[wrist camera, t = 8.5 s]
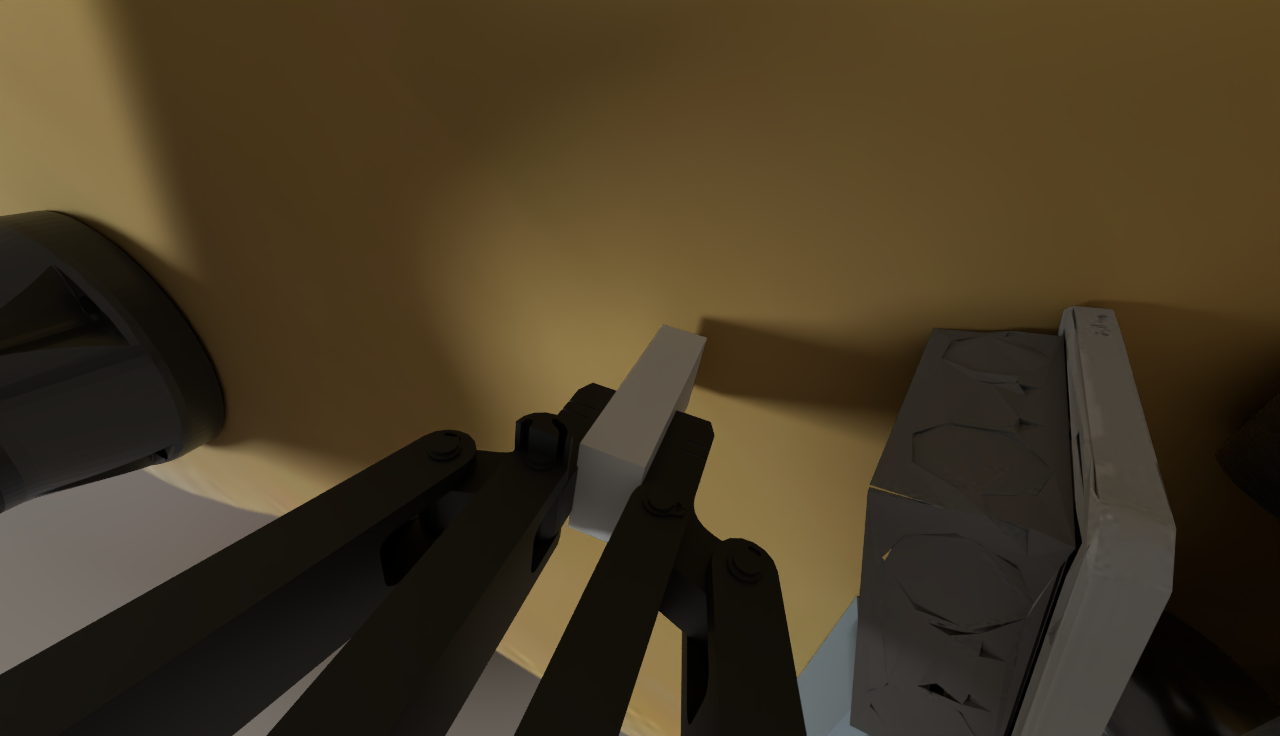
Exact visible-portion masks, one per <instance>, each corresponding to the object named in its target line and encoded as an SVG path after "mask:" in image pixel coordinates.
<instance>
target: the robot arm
mask: <svg viewBox="0 0 1280 736" xmlns="http://www.w3.org/2000/svg"><path fill="white" fill-rule="evenodd" d="M706 340H707V338H706V337H703V336H700V335H697V334H693V333H690V332H687V331H684V330H680V329H677V328H674V327H671V326H668V325H664V324H663V325H662V327H661V328H660V330H659V331H658V332H657V334H656V335H655V337H654V338H653V340H652V341H651V342H650V344H649V345H648V347H647V348H646V350H645V351H644V352H643V354H642V355H641V357H640V358H639V360H638V361H637V362H636V364H635V365H634V367H633V368H632V370H631V371H630V372H629V374H628V375H627V377H626V378H625V380H624V381H623V383H622V384H621V385H620V387H619V388H618V390H617V391H615V390H613V389H610V388H607V387H604V386H601V385H598V384H595V383H591V384H589V385H587V386H585V387H583V388H581V389H579V390H578V391H577V392H576V393H575V394H574V396H573V397H572V398H571V399H570V402H568V403H567V404H566V405H565V406H564V408H563V410H561V411H560V412H559V414H558V415H555V414H550V413H532V414H529V415H526V416H523V417H522V418H520V419H519V420H518V421H516V432H515V450H514V451H513V452H508V453H505V452H491V451H481V450H476V445H475V441H474V440H473V439H472V438H471V437H470V436H469V435H468V434H465V433H463V432H461V431H455V430H442V431H435V432H433V433H430V434H428V435H425V436H423V437H421V438H420V439H418V440H416V441H414V442H413V443H411V444H409V445H407V446H405V447H404V448H402V449H400V450H398V451H397V452H395V453H393V454H391V455H390V456H388V457H386V458H384V459H382V460H381V461H379V462H377V463H375V464H374V465H372V466H370V467H368V468H366V469H365V470H363V471H361V472H359V473H358V474H356V475H354V476H352V477H350V478H349V479H347V480H345V481H343V482H342V483H340V484H338V485H336V486H334V487H333V488H331V489H329V490H327V491H326V492H324V493H322V494H320V495H319V496H317V497H315V498H313V499H311V500H310V501H308V502H306V503H304V504H303V505H301V506H299V507H297V508H295V509H294V510H292V511H290V512H288V513H287V514H285V515H283V516H281V517H279V518H278V519H276V520H274V521H272V522H271V523H269V524H267V525H265V526H264V527H262V528H260V529H258V530H256V531H255V532H253V533H251V534H249V535H248V536H246V537H244V538H242V539H240V540H239V541H237V542H235V543H233V544H232V545H230V546H228V547H226V548H224V549H223V550H221V551H219V552H217V553H216V554H214V555H212V556H210V557H208V558H207V559H205V560H203V561H201V562H200V563H198V564H196V565H194V566H192V567H191V568H189V569H187V570H185V571H184V572H182V573H180V574H178V575H176V576H175V577H173V578H171V579H169V580H168V581H166V582H164V583H163V584H161V585H159V586H157V587H155V588H153V589H152V590H150V591H148V592H146V593H145V594H143V595H141V596H139V597H137V598H136V599H134V600H132V601H131V602H129V603H127V604H125V605H123V606H121V607H120V608H118V609H116V610H114V611H113V612H111V613H109V614H107V615H106V616H104V617H102V618H100V619H98V620H97V621H95V622H93V623H91V624H90V625H88V626H86V627H84V628H82V629H81V630H79V631H77V632H75V633H74V634H72V635H70V636H68V637H66V638H65V639H63V640H61V641H59V642H58V643H56V644H54V645H52V646H51V647H49V648H47V649H45V650H43V651H42V652H40V653H38V654H36V655H35V656H33V657H31V658H29V659H27V660H26V661H24V662H22V663H20V664H18V665H17V666H15V667H13V668H12V669H10V670H8V671H6V672H4V673H2V674H1V675H0V736H232V735H234V734H235V733H236V732H237V731H239V730H240V729H241V728H242V727H243V726H245V725H246V724H247V723H248V722H250V721H251V720H252V719H253V718H254V717H256V716H257V715H258V714H259V713H261V712H262V711H263V710H264V709H265V708H267V707H268V706H269V705H270V704H271V703H273V702H274V701H275V700H276V699H278V698H279V697H280V696H281V695H282V694H284V693H285V692H286V691H287V690H288V689H290V688H291V687H292V686H293V685H295V684H296V683H297V682H298V681H299V680H301V679H302V678H303V677H304V676H305V675H307V674H308V673H309V672H310V671H312V670H313V669H314V668H315V667H316V666H318V665H319V664H320V663H321V662H323V661H324V660H325V659H326V658H327V657H329V656H330V655H331V654H332V653H333V652H334V651H336V650H337V649H338V648H340V647H341V646H342V645H343V644H344V643H346V642H347V641H348V640H349V639H350V638H351V639H350V640H349V641H348V642H347V644H346V645H345V646H344V647H343V648H342V649H341V651H340V652H339V653H338V654H337V655H336V656H335V657H334V658H333V660H332V661H331V662H330V663H329V664H328V665H327V667H326V668H325V669H324V670H323V671H322V672H321V673H320V675H319V676H318V677H317V678H316V680H314V682H313V683H312V684H311V685H310V686H309V687H308V688H307V690H306V691H305V692H304V693H303V694H302V695H301V696H300V698H299V699H298V700H297V701H296V702H295V703H294V705H293V706H292V707H291V708H290V709H289V711H288V712H287V713H286V714H285V715H284V716H283V717H282V719H281V720H280V721H279V722H278V723H277V724H276V725H275V726H274V728H273V729H272V730H271V731H270V732H269V733H268V735H267V736H445V735H446V733H447V732H448V730H449V728H450V727H451V725H452V723H453V722H454V720H455V718H456V717H457V715H458V713H459V711H460V710H461V708H462V706H463V705H464V703H465V701H466V699H467V698H468V696H469V694H470V693H471V691H472V689H473V688H474V686H475V684H476V682H477V681H478V679H479V677H480V676H481V674H482V672H483V670H484V669H485V667H486V665H487V663H488V662H489V660H490V659H491V657H492V655H493V653H494V652H495V650H496V648H497V647H498V645H499V643H500V642H501V640H502V638H503V637H504V635H505V633H506V631H507V630H508V628H509V626H510V625H511V623H512V621H513V619H514V618H515V616H516V614H517V613H518V611H519V609H520V608H521V606H522V604H523V602H524V601H525V599H526V597H527V596H528V594H529V592H530V591H531V589H532V587H533V585H534V584H535V582H536V580H537V579H538V577H539V575H540V574H541V572H542V570H543V568H544V567H545V565H546V563H547V562H548V560H549V558H550V556H551V555H552V553H553V551H554V550H555V548H556V546H557V545H558V541H559V538H560V534H561V527H562V526H563V524H564V522H565V521H566V519H567V517H568V516H569V514H570V516H569V523H568V527H571V528H573V529H576V530H578V531H580V532H583V533H585V534H588V535H590V536H593V537H595V538H598V539H600V540H603V541H605V542H607V545H606V547H605V549H604V551H603V553H602V555H601V557H600V559H599V562H598V564H597V566H596V568H595V570H594V572H593V574H592V576H591V578H590V580H589V582H588V584H587V586H586V588H585V590H584V592H583V594H582V597H581V599H580V601H579V603H578V605H577V607H576V609H575V611H574V613H573V615H572V617H571V619H570V621H569V623H568V625H567V627H566V629H565V632H564V634H563V636H562V638H561V640H560V642H559V644H558V646H557V648H556V650H555V652H554V654H553V656H552V658H551V660H550V662H549V664H548V667H547V669H546V671H545V673H544V675H543V677H542V679H541V681H540V683H539V685H538V687H537V689H536V691H535V693H534V696H533V697H532V699H531V702H530V704H529V706H528V708H527V710H526V712H525V714H524V716H523V718H522V720H521V722H520V724H519V727H518V728H517V730H516V733H515V735H514V736H619V733H620V730H621V726H622V723H623V720H624V717H625V714H626V711H627V708H628V705H629V702H630V698H631V695H632V692H633V689H634V686H635V683H636V680H637V677H638V674H639V671H640V667H641V664H642V661H643V658H644V655H645V652H646V649H647V646H648V643H649V639H650V636H651V633H652V630H653V627H654V624H655V621H656V618H657V615H658V611H660V612H661V613H662V614H663V615H664V616H665V617H667V618H668V619H669V620H670V621H671V622H672V623H674V624H675V625H676V626H677V627H678V628H679V629H681V630H682V683H681V736H807V733H806V727H805V722H804V716H803V710H802V705H801V699H800V694H799V688H798V682H797V677H796V671H795V665H794V660H793V654H792V649H791V643H790V637H789V632H788V626H787V620H786V615H785V609H784V604H783V598H782V592H781V587H780V581H779V575H778V571H777V569H776V566H775V563H774V561H773V560H772V558H771V557H770V556H769V555H768V553H767V552H766V551H765V550H764V549H762V548H761V547H759V546H758V545H757V544H755V543H753V542H751V541H748V540H745V539H742V538H729V539H727V540H724V541H721V540H720V539H718V538H717V537H716V536H714V535H713V534H711V533H710V532H709V531H708V530H707V529H706V528H705V527H704V526H703V525H702V524H701V523H700V521H699V520H698V518H697V516H696V514H695V510H694V498H695V495H696V492H697V489H698V486H699V483H700V479H701V476H702V473H703V470H704V467H705V464H706V461H707V457H708V454H709V451H710V448H711V445H712V442H713V439H714V432H713V428H712V425H711V422H709V421H706V420H703V419H701V418H698V417H695V416H692V415H689V414H686V413H685V410H686V408H687V406H688V403H689V399H690V396H691V392H692V389H693V385H694V382H695V378H696V375H697V371H698V368H699V364H700V361H701V358H702V354H703V351H704V347H705V344H706ZM223 421H224V405H223V399H222V394H221V390H220V387H219V384H218V381H217V378H216V376H215V373H214V371H213V368H212V366H211V364H210V362H209V360H208V358H207V356H206V354H205V352H204V350H203V348H202V346H201V345H200V343H199V341H198V340H197V338H196V336H195V335H194V333H193V332H192V330H191V329H190V327H189V326H188V324H187V323H186V321H185V320H184V318H183V317H182V316H181V314H180V313H179V312H178V310H177V309H176V308H175V306H174V305H173V304H172V302H171V301H170V300H169V299H168V298H167V296H166V295H165V294H164V293H163V292H162V290H161V289H160V288H159V287H158V286H157V285H156V284H155V283H154V282H153V280H152V279H151V278H150V277H149V276H148V275H147V274H146V273H145V272H144V271H143V270H142V269H141V268H140V267H139V266H138V265H137V264H136V263H135V262H134V261H132V260H131V259H130V258H129V257H128V256H127V255H126V254H125V253H123V252H122V251H121V250H120V249H119V248H117V247H116V246H115V245H114V244H112V243H111V242H110V241H108V240H107V239H106V238H104V237H103V236H102V235H100V234H99V233H97V232H96V231H94V230H92V229H91V228H89V227H88V226H86V225H84V224H82V223H80V222H78V221H76V220H74V219H72V218H70V217H67V216H65V215H62V214H59V213H55V212H51V211H34V212H27V213H20V214H13V215H6V216H0V513H2V512H4V511H6V510H8V509H11V508H13V507H15V506H17V505H19V504H21V503H23V502H26V501H29V500H31V499H34V498H37V497H41V496H44V495H48V494H52V493H55V492H59V491H62V490H66V489H70V488H74V487H77V486H81V485H85V484H88V483H92V482H95V481H99V480H103V479H107V478H110V477H114V476H118V475H121V474H125V473H128V472H131V471H135V470H138V469H142V468H145V467H148V466H151V465H158V464H162V463H165V462H169V461H172V460H174V459H177V458H179V457H181V456H183V455H185V454H187V453H188V452H190V451H192V450H194V449H196V448H198V447H199V446H201V445H203V444H205V443H207V442H209V441H210V440H212V439H214V438H215V437H216V436H217V435H218V434H219V432H220V430H221V428H222V425H223Z"/></svg>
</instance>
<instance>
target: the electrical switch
mask: <svg viewBox="0 0 1280 736" xmlns="http://www.w3.org/2000/svg"><path fill="white" fill-rule="evenodd" d="M917 434H920V435H917ZM870 485H873V486H876V487H879V488H883V489H886V490H889V491H892V492H895V493H899V494H902V495H905V496H908V497H911V498H913V499H910V498H907V497H903V496H900V495H896V494H892V493H889V492H885V491H882V490H878V489H874V488H871V487H869V490H868V496H867V508H866V521H865V534H864V547H863V560H862V573H861V586H860V598H859V611H858V624H857V637H856V650H855V663H854V676H853V688H852V701H851V714H850V726H852V727H854V728H856V729H858V730H860V731H862V732H864V733H866V734H868V735H870V736H1101V735H1102V733H1103V731H1104V729H1105V727H1106V725H1107V723H1108V721H1109V719H1110V717H1111V715H1112V713H1113V711H1114V709H1115V707H1116V705H1117V703H1118V701H1119V699H1120V697H1121V695H1122V693H1123V691H1124V689H1125V687H1126V685H1127V683H1128V681H1129V679H1130V677H1131V675H1132V672H1133V670H1134V668H1135V666H1136V664H1137V662H1138V660H1139V658H1140V656H1141V654H1142V652H1143V650H1144V648H1145V646H1146V644H1147V642H1148V640H1149V638H1150V636H1151V634H1152V632H1153V630H1154V628H1155V626H1156V624H1157V622H1158V620H1159V618H1160V616H1161V614H1162V612H1163V610H1164V608H1165V606H1166V604H1167V602H1168V600H1169V598H1170V596H1171V593H1172V586H1173V571H1174V556H1175V540H1176V527H1175V523H1174V519H1173V516H1172V512H1171V509H1170V505H1169V502H1168V498H1167V494H1166V491H1165V487H1164V484H1163V480H1162V477H1161V473H1160V469H1159V466H1158V462H1157V459H1156V455H1155V452H1154V448H1153V444H1152V441H1151V437H1150V434H1149V430H1148V426H1147V423H1146V419H1145V416H1144V412H1143V409H1142V405H1141V401H1140V398H1139V394H1138V391H1137V387H1136V384H1135V380H1134V376H1133V373H1132V369H1131V366H1130V362H1129V359H1128V355H1127V351H1126V348H1125V344H1124V341H1123V337H1122V334H1121V331H1120V328H1119V325H1118V322H1117V319H1116V316H1115V313H1114V310H1113V309H1103V308H1092V307H1082V306H1071V307H1069V308H1067V309H1065V310H1064V311H1063V315H1062V319H1061V323H1060V327H1059V331H1058V335H1057V336H1056V335H1046V334H1036V333H1027V332H1017V331H998V332H985V333H983V332H972V331H960V330H949V329H938V328H933V331H932V333H931V336H930V338H929V341H928V343H927V345H926V348H925V350H924V353H923V355H922V358H921V360H920V363H919V365H918V367H917V370H916V372H915V375H914V377H913V380H912V382H911V385H910V387H909V390H908V392H907V394H906V397H905V399H904V402H903V404H902V407H901V409H900V412H899V414H898V417H897V419H896V421H895V424H894V426H893V429H892V431H891V434H890V436H889V439H888V441H887V443H886V446H885V448H884V451H883V453H882V456H881V458H880V461H879V463H878V466H877V468H876V470H875V473H874V475H873V478H872V480H871V483H870ZM891 548H892V549H891ZM890 549H891V551H890V553H889V555H888V556H887V558H886V560H885V561H884V559H883V558H882V557H883V556H884V555H885V554H886V553H887V552H888V551H889V550H890Z"/></svg>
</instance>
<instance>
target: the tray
mask: <svg viewBox="0 0 1280 736" xmlns="http://www.w3.org/2000/svg"><path fill="white" fill-rule="evenodd" d="M859 598H860V597H856V598H855V599H854V601H853V602H852V603H851V605H850V606H849V608H848V609H847V610H846V612H845V613H844V615H843V616H842V617H841V619H840V620H839V622H838V623H837V624H836V626H835V627H834V629H833V630H832V631H831V633H830V634H829V636H828V637H827V638H826V640H825V641H824V642H823V644H822V645H821V647H820V648H819V649H818V651H817V652H816V654H815V655H814V656H813V658H812V659H811V661H810V662H809V663H808V665H807V666H806V668H805V669H804V670H803V672H802V673H801V675H800V676H799V677H798V679H797V682H798V688H799V694H800V699H801V705H802V710H803V716H804V722H805V727H806V733H807V736H870V735H868V734H866V733H864V732H862V731H860V730H858V729H856V728H854V727H852V726H850V714H851V701H852V688H853V676H854V663H855V650H856V637H857V624H858V611H859Z"/></svg>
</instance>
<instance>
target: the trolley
mask: <svg viewBox="0 0 1280 736" xmlns="http://www.w3.org/2000/svg"><path fill="white" fill-rule="evenodd" d="M1215 455H1216V460H1217V462H1218V464H1219V465H1220V467H1221V468H1222V470H1223V471H1224V472H1225V474H1226V475H1227V476H1228V477H1229V478H1230V479H1231V480H1232V481H1233V482H1234V483H1235V484H1236V485H1237V486H1238V487H1239V488H1240V489H1241V490H1243V491H1244V492H1245V493H1246V494H1247V495H1248V496H1249V497H1251V498H1252V499H1253V500H1254V501H1256V502H1257V503H1258V504H1259V505H1261V506H1262V507H1263V508H1264V509H1266V510H1267V511H1269V512H1270V513H1271V514H1273V515H1274V516H1276V517H1277V518H1278V519H1280V393H1278V394H1277V395H1276V396H1275V397H1274V398H1273V399H1272V400H1271V401H1270V402H1269V403H1267V404H1266V405H1265V406H1264V407H1263V408H1262V409H1261V410H1260V411H1259V412H1258V413H1256V414H1255V415H1254V416H1253V417H1252V418H1251V419H1250V420H1249V421H1248V422H1247V423H1245V424H1244V425H1243V426H1242V427H1241V428H1240V429H1239V430H1238V431H1237V432H1236V433H1235V434H1233V435H1232V436H1231V437H1230V438H1229V439H1228V440H1227V441H1226V442H1225V443H1224V444H1222V445H1221V446H1220V447H1219V448H1218V449H1217V450H1216V454H1215ZM1101 736H1280V708H1279V707H1278V706H1277V704H1276V703H1275V702H1274V701H1273V699H1272V698H1271V697H1270V696H1269V695H1268V694H1267V693H1266V691H1265V690H1264V689H1263V688H1262V687H1261V686H1260V685H1259V684H1258V683H1257V682H1256V681H1255V680H1254V679H1253V678H1252V677H1251V676H1250V675H1249V674H1248V673H1247V672H1246V671H1245V670H1244V669H1243V668H1242V667H1241V666H1240V665H1239V664H1238V663H1237V662H1236V661H1234V660H1233V659H1232V658H1231V657H1230V656H1229V655H1227V654H1226V653H1225V652H1224V651H1223V650H1222V649H1220V648H1219V647H1218V646H1217V645H1215V644H1214V643H1213V642H1212V641H1210V640H1209V639H1208V638H1206V637H1205V636H1204V635H1202V634H1201V633H1200V632H1198V631H1197V630H1195V629H1194V628H1193V627H1191V626H1190V625H1188V624H1187V623H1185V622H1184V621H1182V620H1181V619H1179V618H1178V617H1176V616H1175V615H1173V614H1171V613H1170V612H1168V611H1166V610H1163V612H1162V614H1161V616H1160V618H1159V620H1158V622H1157V624H1156V626H1155V628H1154V630H1153V632H1152V634H1151V636H1150V638H1149V640H1148V642H1147V644H1146V646H1145V648H1144V650H1143V652H1142V654H1141V656H1140V658H1139V660H1138V662H1137V664H1136V666H1135V668H1134V670H1133V672H1132V675H1131V677H1130V679H1129V681H1128V683H1127V685H1126V687H1125V689H1124V691H1123V693H1122V695H1121V697H1120V699H1119V701H1118V703H1117V705H1116V707H1115V709H1114V711H1113V713H1112V715H1111V717H1110V719H1109V721H1108V723H1107V725H1106V727H1105V729H1104V731H1103V733H1102V735H1101Z"/></svg>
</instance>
